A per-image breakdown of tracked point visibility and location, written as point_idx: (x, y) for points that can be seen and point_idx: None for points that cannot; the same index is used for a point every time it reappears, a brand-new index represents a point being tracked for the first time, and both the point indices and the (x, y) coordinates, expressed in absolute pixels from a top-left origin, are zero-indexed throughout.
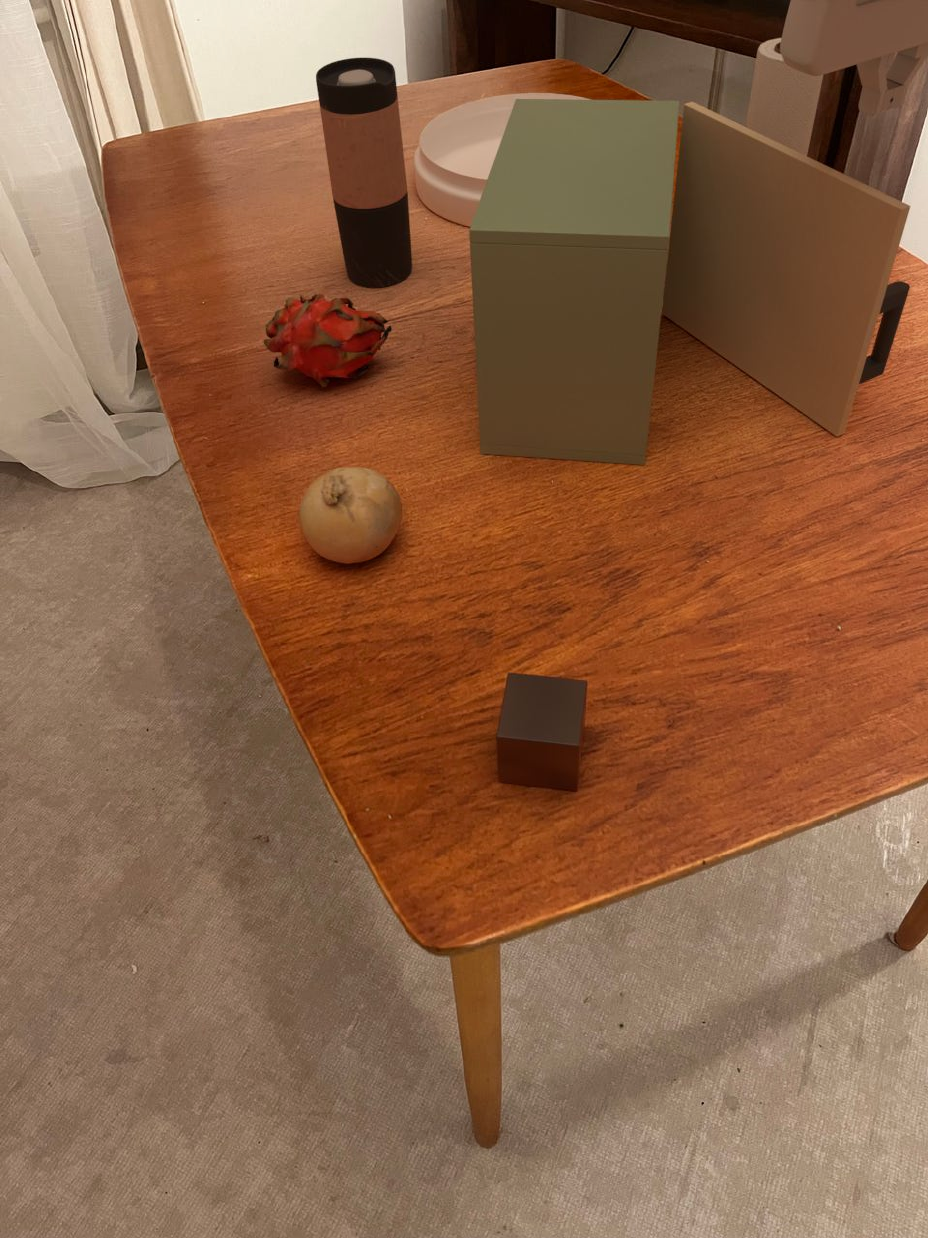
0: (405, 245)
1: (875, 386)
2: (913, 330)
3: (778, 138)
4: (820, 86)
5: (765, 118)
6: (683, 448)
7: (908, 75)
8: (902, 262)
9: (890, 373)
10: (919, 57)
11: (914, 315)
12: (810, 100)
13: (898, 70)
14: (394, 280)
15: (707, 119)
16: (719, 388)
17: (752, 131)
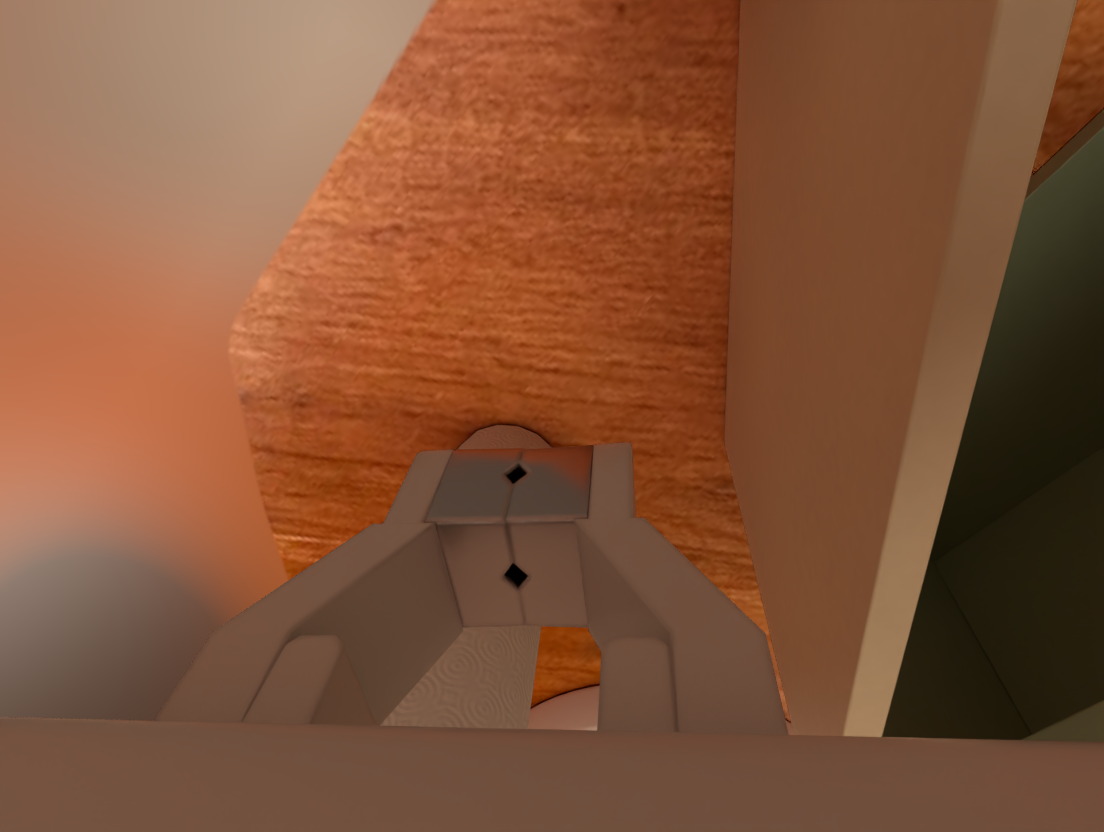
0: None
1: (545, 15)
2: (345, 162)
3: (497, 659)
4: None
5: (517, 721)
6: (1080, 26)
7: (392, 558)
8: (241, 366)
9: (484, 44)
10: (299, 636)
11: (313, 208)
12: (407, 722)
13: (407, 628)
14: None
15: None
16: None
17: (866, 660)
